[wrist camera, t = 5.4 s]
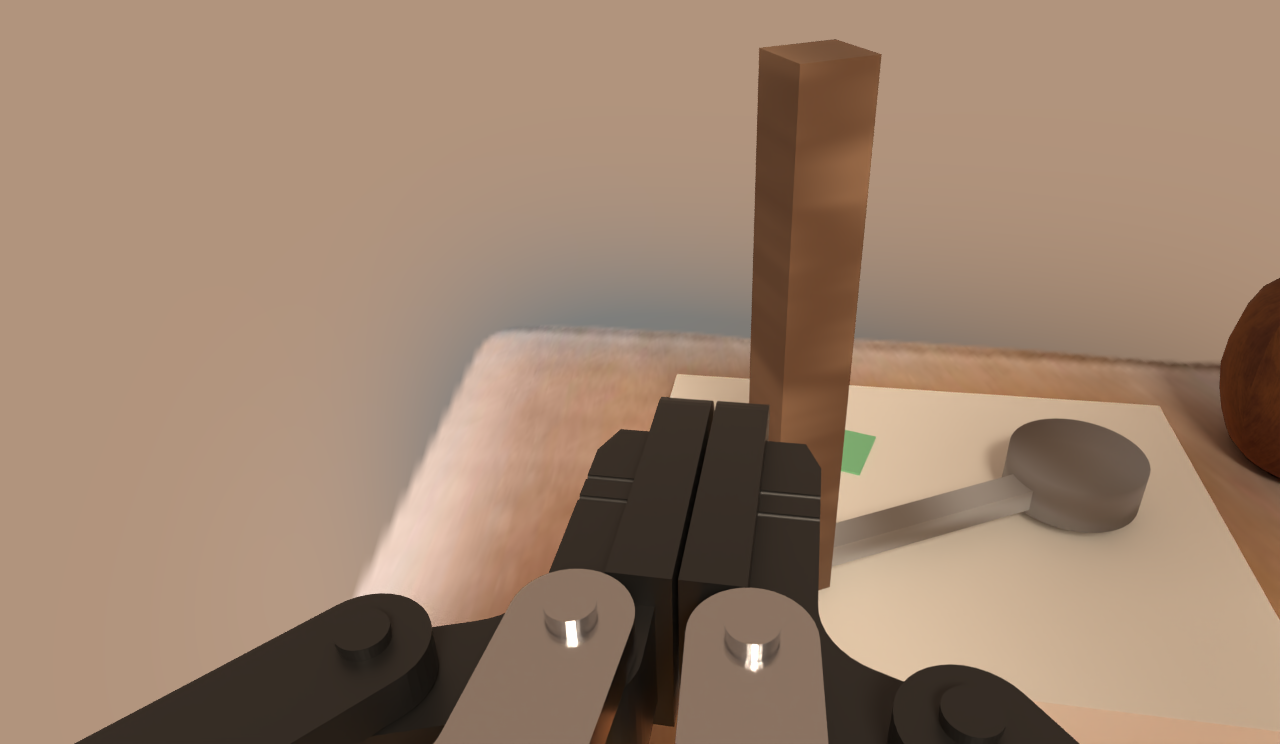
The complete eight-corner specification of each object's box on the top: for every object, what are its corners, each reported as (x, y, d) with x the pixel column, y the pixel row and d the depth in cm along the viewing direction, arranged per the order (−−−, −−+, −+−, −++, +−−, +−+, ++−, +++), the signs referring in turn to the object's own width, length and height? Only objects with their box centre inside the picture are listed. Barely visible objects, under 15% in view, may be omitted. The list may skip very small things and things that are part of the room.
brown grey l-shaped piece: (1073, 445, 34) (1191, -11, 25) (1167, 516, 30) (1341, 11, 22) (701, 546, 30) (699, 43, 21) (759, 641, 26) (783, 80, 18)
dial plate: (1149, 435, 37) (1159, 403, 36) (1326, 776, 24) (1348, 737, 23) (677, 402, 41) (677, 372, 40) (597, 680, 27) (594, 644, 26)
